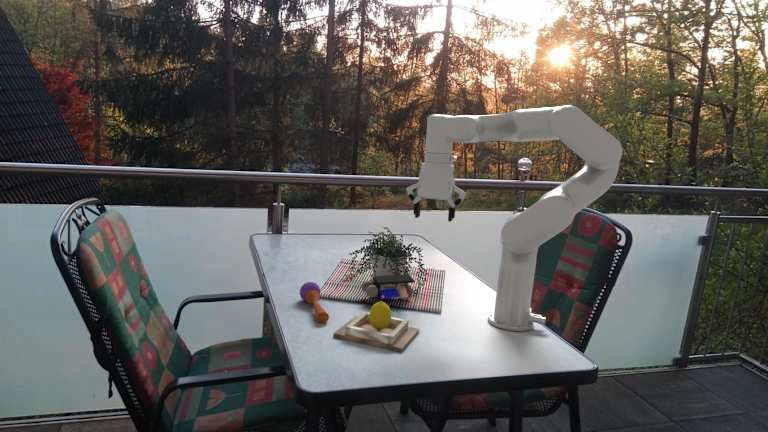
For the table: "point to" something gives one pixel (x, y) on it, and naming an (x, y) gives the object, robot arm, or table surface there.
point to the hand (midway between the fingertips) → (433, 218)
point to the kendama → (314, 300)
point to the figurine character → (375, 292)
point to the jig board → (378, 333)
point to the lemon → (380, 315)
